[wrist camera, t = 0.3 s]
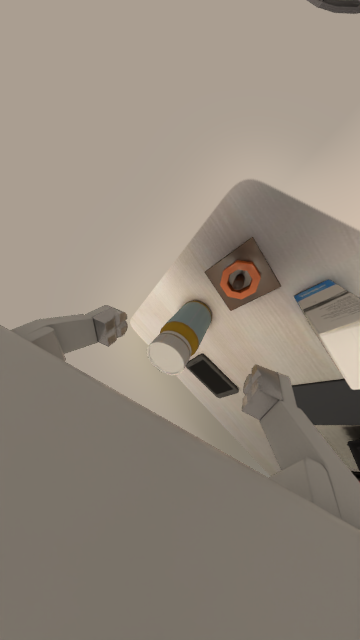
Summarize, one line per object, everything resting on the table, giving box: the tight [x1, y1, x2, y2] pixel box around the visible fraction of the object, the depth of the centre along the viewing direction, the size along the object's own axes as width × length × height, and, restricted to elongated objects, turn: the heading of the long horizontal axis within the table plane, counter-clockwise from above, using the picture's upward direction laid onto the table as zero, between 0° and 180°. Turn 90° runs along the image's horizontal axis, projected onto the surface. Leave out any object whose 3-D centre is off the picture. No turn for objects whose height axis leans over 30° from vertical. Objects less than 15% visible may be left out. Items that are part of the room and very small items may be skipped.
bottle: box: [147, 301, 212, 375], centre depth 28 cm, size 7×7×15 cm
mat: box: [292, 379, 360, 425], centre depth 31 cm, size 14×12×1 cm
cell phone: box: [186, 355, 239, 398], centre depth 41 cm, size 7×14×1 cm, turn 51°
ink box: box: [294, 280, 360, 390], centre depth 19 cm, size 9×5×12 cm, turn 42°
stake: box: [205, 237, 281, 311], centre depth 25 cm, size 9×9×5 cm
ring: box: [220, 260, 261, 299], centre depth 25 cm, size 6×6×2 cm
